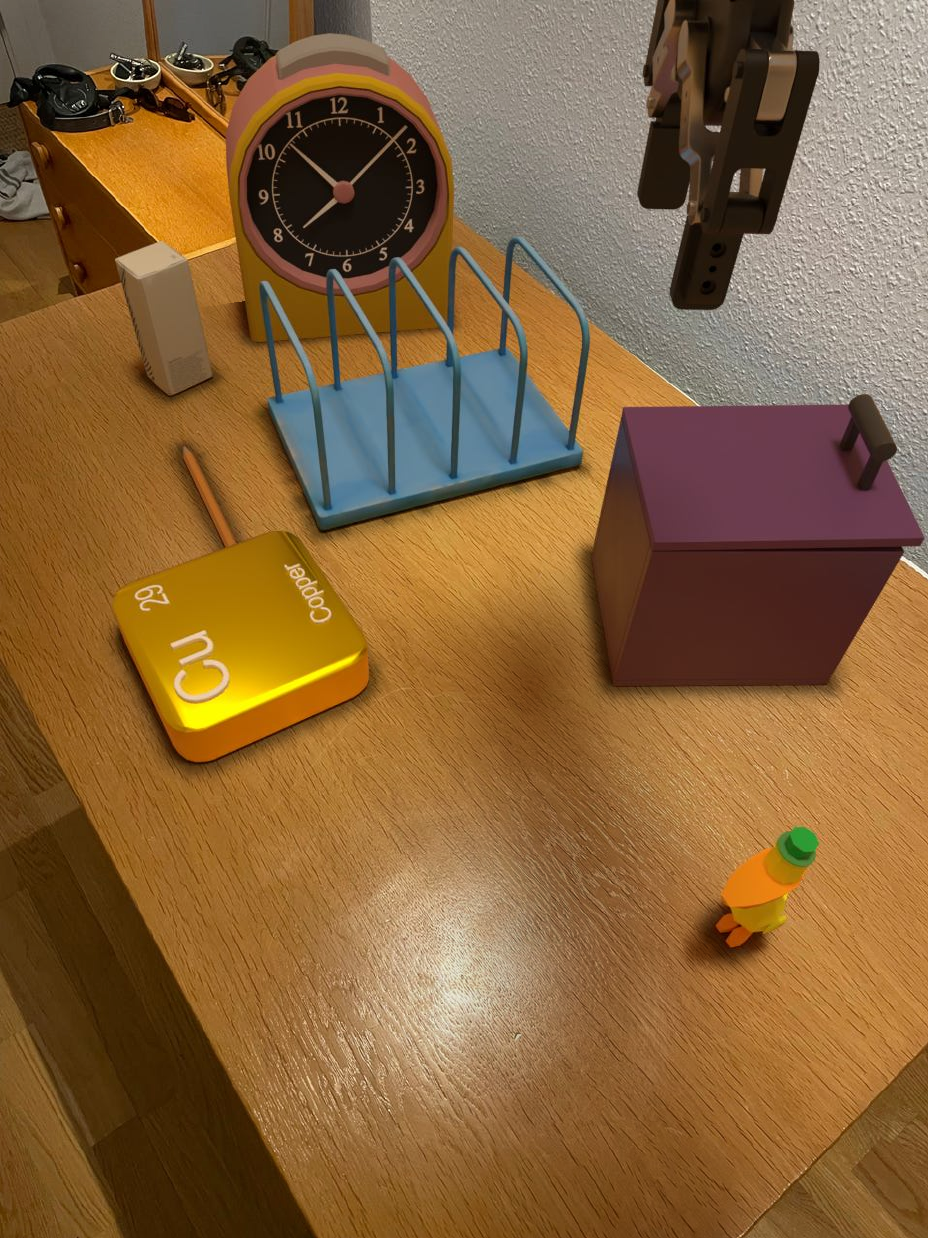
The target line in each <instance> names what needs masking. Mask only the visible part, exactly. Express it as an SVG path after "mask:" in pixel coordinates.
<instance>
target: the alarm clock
mask: <svg viewBox="0 0 928 1238" xmlns="http://www.w3.org/2000/svg"><path fill="white" fill-rule="evenodd" d="M225 164H226V165H225V166H226V174H227V175H226V176H227V185H228V194H229V195H228V196H229V203H230V211H231V216H232V223H233V229H234V230H233V231H234V236H235V237H234V238H235V244H236V249H237V256H238V257H237V258H238V263H239V268H240V269H239V270H240V275H241V282H242V289H243V296H244V302H245V303H244V304H245V308H246V318H247V322H248V329H249V336H250V339H251V341H253V342H255V343H267V339H266V333H265V326H264V320H263V314H262V307H261V300H260V292H259V284H260V282H261V281H267V282H268V283H269V284H270V286H271V288H272V290H273V291H274V293H275V295H276V297H277V299H278V301H279V303H280V305H281V307H282V308H283V310H284V312H285V314H286V316H287V318H288V320H289V322H290V324H291V326H292V328H293V330H294V332H295V334H296V336H297V338H298V339H299V340H303V339H304V340H305V339H315V338H328V337H330V325H329V313H328V301H327V287H326V278H327V272H328V271H329V270H331V269H336V270H337V271H338V272H339V273H340V275H341V276H342V278H343V280H344V281H345V283H346V285H347V286H348V288H349V290H350V291H351V293H352V295H353V296H354V298H355V299H356V301H357V303H358V304H359V306H360V308H361V309H362V311H363V313H364V314H365V316H366V318H367V319H368V321H369V323H370V324H371V326H372V328H373V330H374V331H375V333H376V334H377V333H378V334H379V333H390V312H389V264H390V261H391V260H392V259H393V258H397V257H399V258H401V259H402V260H403V261H404V262H405V264H406V265H407V267H408V268H409V270H410V271H411V272H412V274H413V275H414V277H415V278H416V280H417V281H418V283H419V284H420V285H421V287H422V288H423V290H424V291H425V293H426V294H427V296H428V297H429V299H430V300H431V302H432V303H433V304H434V306H435V308H436V309H437V311H438V312H439V314H440V315H441V316H442V318H443V319H444V321H445V322H446V324H447V313H448V276H449V260H450V255H451V252H452V250H453V233H454V232H453V231H454V208H455V207H454V206H455V204H454V203H455V183H454V182H455V181H454V180H455V179H454V169H453V160H452V156H451V154H450V152H449V149H448V146H447V143H446V140H445V138H444V136H443V133H442V130H441V128H440V126H439V123H438V121H437V119H436V116H435V114H434V111H433V109H432V107H431V105H430V102H429V100H428V97H427V96H426V94H425V93H424V92H423V90H422V89H421V87H420V86H419V85H418V83H417V82H416V80H415V79H414V78H413V77H412V75H411V73H409V72H408V71H407V70H406V69H404V68H403V67H402V66H401V65H399V64H398V63H396V61H394V60H393V59H392V58H390V57H389V56H388V55H387V52H386V50H385V49H384V48H383V47H382V46H379V45H378V44H376V43H373V42H371V41H369V40H367V39H364V38H360V37H357V36H353V35H351V34H350V35H349V34H343V33H332V32H330V33H329V32H328V33H323V34H322V33H321V34H316V35H315V34H314V35H310V36H307V37H305V38H301V39H299V40H296V41H294V42H292V43H290V44H288V45H286V46H285V47H283V48H281V49H279V50H278V51H277V52H276V53H275V55H274V56H271V57H270V58H269V59H268V60H267V61H266V62H265V63H263V64H262V66H261V67H260V68H258V69H257V71H255V72H254V73H253V74H252V75H251V76H250V77H249V78H248V79H247V81H246V83H245V85H244V86H243V88H242V90H241V91H240V92H239V94H238V97H237V98H236V100H235V101H234V103H233V104H232V109H231V112H230V117H229V120H228V124H227V127H226V131H225ZM333 288H334V301H335V316H336V329H337V337H339V336H353V335H365V334H366V335H367V333H366V332H365V330H364V328H363V327H362V325H361V323H360V321H359V320H358V318H357V317H356V315H355V313H354V311H353V310H352V308H351V306H350V305H349V303H348V301H347V300H346V298H345V296H344V295H343V293H342V291H341V290H340V288H339V286H338V285H337V283H336V281H335V280H334V279H333ZM267 300H268V307H269V313H270V320H271V327H272V334H273V340H274V342H278V341H279V342H280V341H290V339H289V337H288V335H287V333H286V331H285V329H284V327H283V325H282V323H281V321H280V319H279V318H278V316H277V314H276V312H275V310H274V308H273V306H272V304H271V302H270V300H269V298H268V296H267ZM396 325H397V332H403V331H415V330H427V329H428V330H429V329H438V328H439V327H438V325H437V324H436V322H435V320H434V319H433V317H432V316H431V314H430V313H429V312H428V310H427V309H426V307H425V306H424V304H423V302H422V301H421V299H420V298H419V297H418V295H417V294H416V292H415V290H414V289H413V288H412V286H411V285H410V283H409V282H408V280H407V279H406V278H405V276H404V275H403V273H402V272H401V270H400V269H399V267H398V266H396ZM439 329H440V328H439Z"/></svg>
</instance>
